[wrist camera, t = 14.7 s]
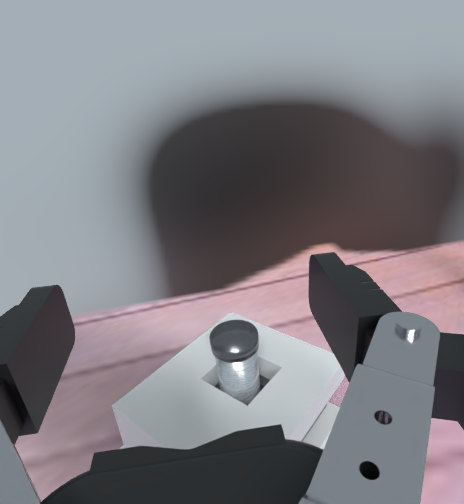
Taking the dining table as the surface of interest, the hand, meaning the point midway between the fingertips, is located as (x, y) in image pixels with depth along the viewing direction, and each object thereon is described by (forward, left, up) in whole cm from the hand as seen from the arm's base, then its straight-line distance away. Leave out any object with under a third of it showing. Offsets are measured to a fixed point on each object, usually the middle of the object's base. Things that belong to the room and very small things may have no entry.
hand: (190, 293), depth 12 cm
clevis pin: (-7, +10, -23) cm, 26 cm away
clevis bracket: (-7, +10, -24) cm, 27 cm away
